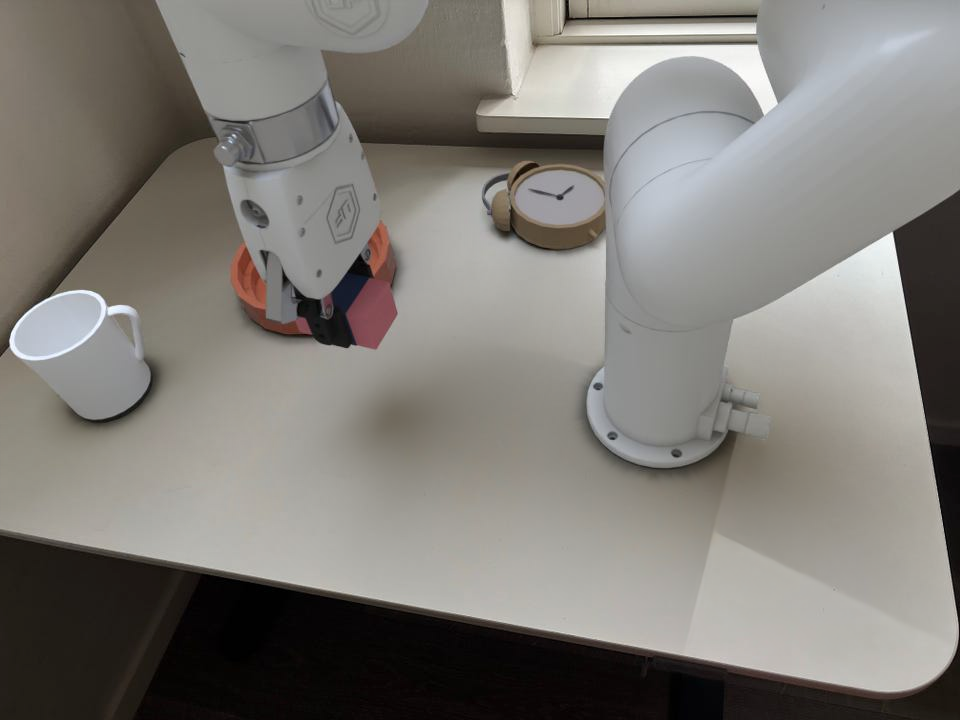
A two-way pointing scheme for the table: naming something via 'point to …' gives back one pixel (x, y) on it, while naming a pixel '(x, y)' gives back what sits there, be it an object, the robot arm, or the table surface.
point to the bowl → (254, 288)
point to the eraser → (362, 309)
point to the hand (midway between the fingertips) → (347, 318)
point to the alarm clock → (549, 204)
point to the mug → (85, 353)
